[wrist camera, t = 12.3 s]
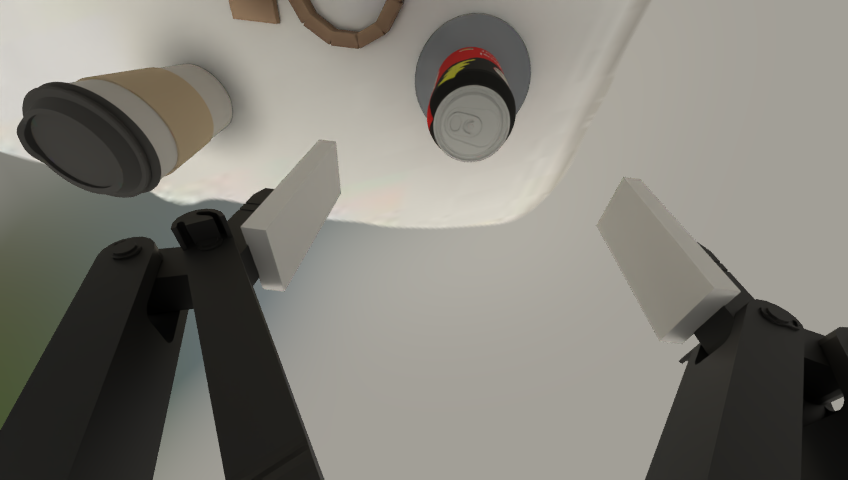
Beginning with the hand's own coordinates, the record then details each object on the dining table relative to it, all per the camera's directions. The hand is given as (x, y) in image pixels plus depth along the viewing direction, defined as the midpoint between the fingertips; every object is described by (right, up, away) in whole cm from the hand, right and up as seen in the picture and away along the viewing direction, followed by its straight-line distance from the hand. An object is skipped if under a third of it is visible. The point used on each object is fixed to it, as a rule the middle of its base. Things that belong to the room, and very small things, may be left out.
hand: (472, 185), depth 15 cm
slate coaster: (+2, +13, +16) cm, 21 cm away
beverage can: (+2, +13, +16) cm, 20 cm away
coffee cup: (-27, +13, +20) cm, 36 cm away
